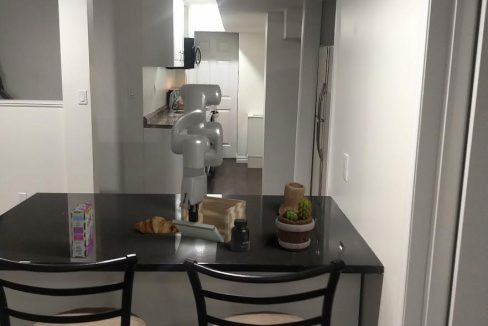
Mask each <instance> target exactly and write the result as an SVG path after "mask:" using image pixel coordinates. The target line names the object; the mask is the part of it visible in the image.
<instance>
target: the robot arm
mask: <svg viewBox="0 0 488 326" xmlns="http://www.w3.org/2000/svg"><path fill="white" fill-rule="evenodd" d="M179 95H180V98H181V101H182V103H183V105H184V106H183V114H181V115H180V116H179V117H178V118H177V119H176V120H175V121H174V123H173V125H172V127H171V130H170V141H169V142H170V143H169V144H170V150H171V152H172V153H173V154H174V155H178V156H179V155H182V178H181V184H180V198H179V199H180V200H179V201H180V202H179V207H178V208H181V205H182V204H185V207H184V208H185V209H188V221H189V222H194V223H196V222H198V210H199V205H200V203H201V202H202V200H203V199H204V196H208V177H207V172H205V167H220V166H221V165H222V164H223V158H224V131H223V126H222V124H221V123H220V122H218V121H207V108H206V107H207V106H220V104H221V102H222V95H223V94H222V89H221V86H220V85H219V84H215V83H214V84H212V83H207V84H206V83H187V84H186V83H185V84H183V85H181V86H180V88H179ZM184 130H185V131H186V134H185V133H182V134H181V132H183V131H184ZM211 144H212V145H211Z"/></svg>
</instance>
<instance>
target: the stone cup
mask: <svg viewBox="0 0 488 326" xmlns="http://www.w3.org/2000/svg"><path fill="white" fill-rule="evenodd" d="M305 193H306V186H305V185H304V184H302V183H300V182H297V181H289V182H287V183H286V184H285V185H284V191H283V198H284V203H281V204H280V206H279V209H278V214H279V215H280V214H281V213H285V211H286V209H288V208H289V209H291V208H292V209H294V211H295V212H299V211H297V210H298V209H297V208H298V205H297V204H298V203H299V200H300V201H301V199H303V197H304V198H305V195H306V194H305ZM302 196H303V197H302ZM295 208H296V209H295Z"/></svg>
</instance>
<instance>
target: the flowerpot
mask: <svg viewBox="0 0 488 326" xmlns="http://www.w3.org/2000/svg"><path fill="white" fill-rule="evenodd" d="M302 197H303V196H302ZM297 205H298V208H297V209H298V210H297V211H299V212H295V211H294V209H292V208H291V209H289V208H288V209H286V211H285V213H281V214H279V215H278V216H277V217H276V219H275V220H274V221H275V224H274V225H275V227H276V228H277V232H278V238H277V239H278V241H277V242H278V243H279V245H280V248H283V249H285V250H286V251H291V252H292V251H293V252H301V251H304V250H306V249H307V248H308V247H309V246H310V244H311V238H310V236H311V233H312V230H313V229H315V225H316V224H315V219H314V218H313V217H312V213H311V212H312V211H313V207H312V206H313V203H312V201H310V199H309V198H308V197H307V196H304V197H303V199H301V201H300V200H299V203H298V204H297ZM295 209H296V208H295Z"/></svg>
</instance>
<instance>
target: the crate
mask: <svg viewBox="0 0 488 326" xmlns="http://www.w3.org/2000/svg"><path fill="white" fill-rule="evenodd" d="M246 202H247V201H246V200H243V199H234V198H227V197H226V198H225V197H219V196H218V197H217V196H209V195H207V196H204V199H203V200H202V202H201V203H200V205H199V210H198V222H196V223H201V224H208V225H214V226H215V227H216V229H217V230H218V232H219V233H220V235H221V236H222V238H223V239H224V242H225V243H230V242H231V229H232V227H234V220H235V219H239V218H242V219H247V218H246V209H247V208H246V207H247V203H246ZM184 207H185V204H182V205H181V207H180V220H181V221H188V209H185V208H184ZM188 222H189V221H188ZM180 234H181V236H183V234H182V233H181V232H180Z"/></svg>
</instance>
